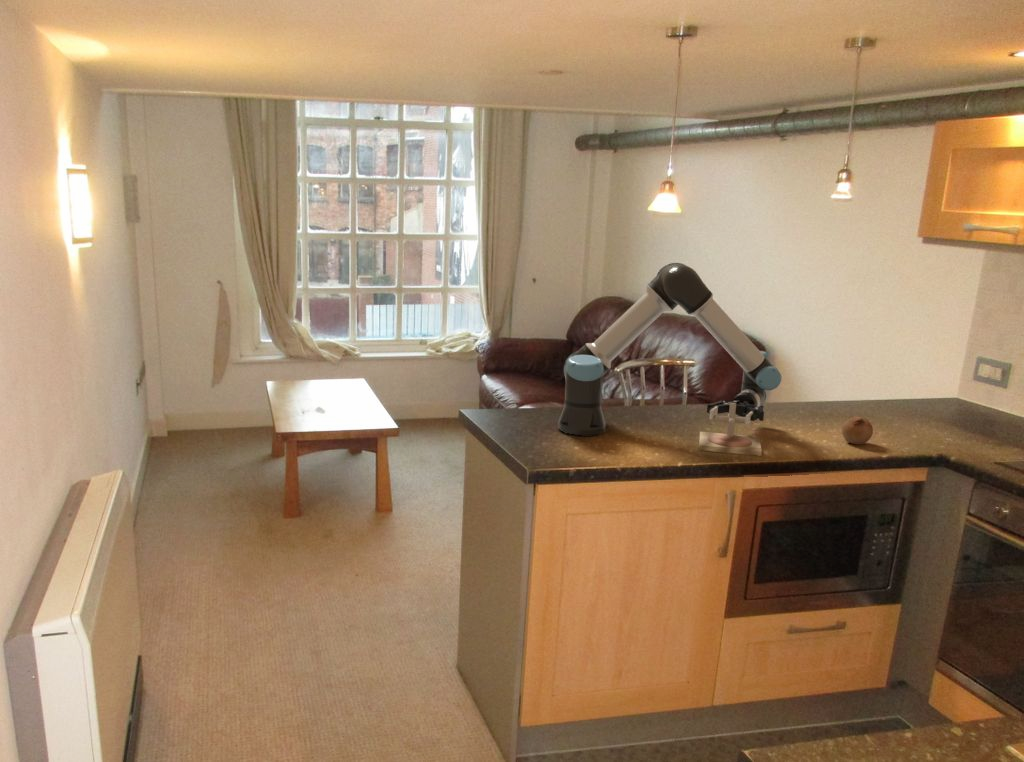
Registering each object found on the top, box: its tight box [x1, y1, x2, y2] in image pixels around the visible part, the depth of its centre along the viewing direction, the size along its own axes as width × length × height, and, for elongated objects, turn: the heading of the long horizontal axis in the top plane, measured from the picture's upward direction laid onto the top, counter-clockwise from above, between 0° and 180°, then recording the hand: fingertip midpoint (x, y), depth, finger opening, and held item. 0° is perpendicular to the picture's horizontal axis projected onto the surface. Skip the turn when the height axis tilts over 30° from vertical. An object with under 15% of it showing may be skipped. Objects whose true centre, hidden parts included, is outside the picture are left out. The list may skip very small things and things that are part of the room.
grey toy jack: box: [714, 403, 746, 436], centre depth 247 cm, size 10×10×10 cm
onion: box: [841, 416, 874, 445], centre depth 256 cm, size 9×9×10 cm
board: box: [698, 431, 763, 457], centre depth 249 cm, size 18×16×2 cm
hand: (728, 417), depth 243 cm, fingers closed on grey toy jack, 10 cm apart
